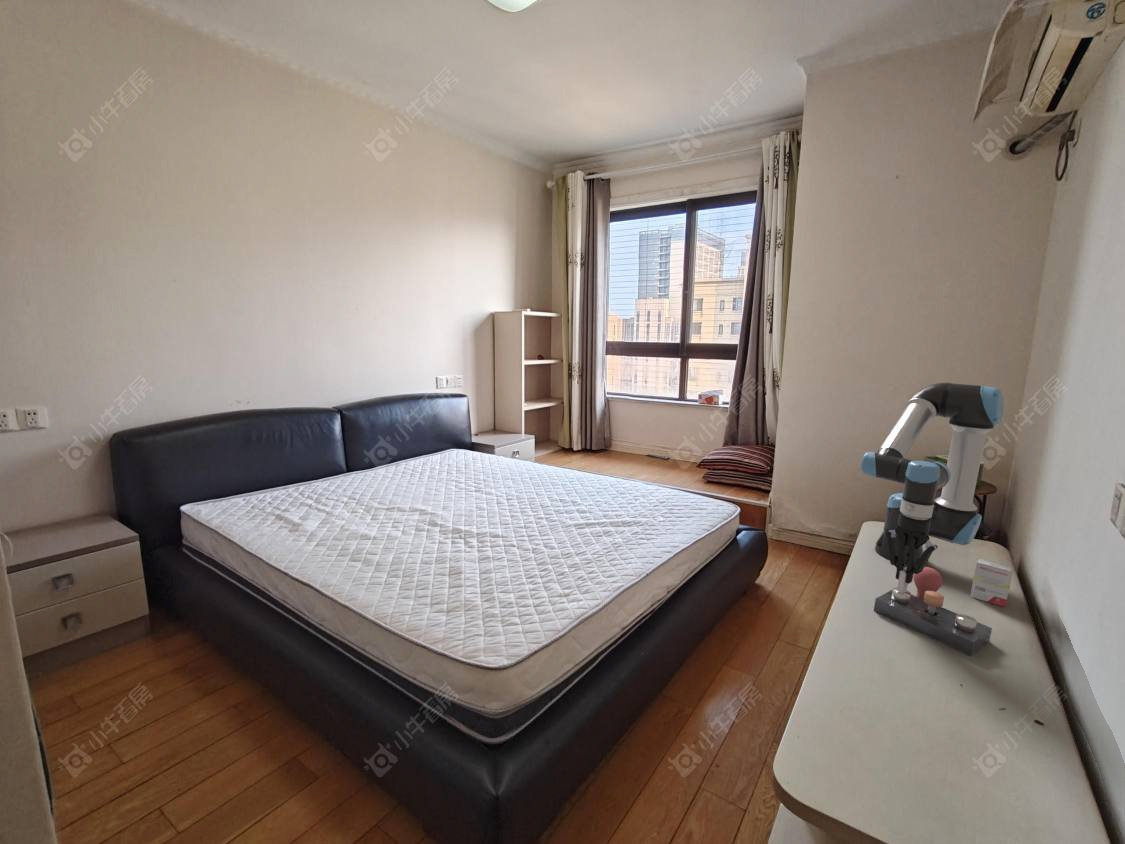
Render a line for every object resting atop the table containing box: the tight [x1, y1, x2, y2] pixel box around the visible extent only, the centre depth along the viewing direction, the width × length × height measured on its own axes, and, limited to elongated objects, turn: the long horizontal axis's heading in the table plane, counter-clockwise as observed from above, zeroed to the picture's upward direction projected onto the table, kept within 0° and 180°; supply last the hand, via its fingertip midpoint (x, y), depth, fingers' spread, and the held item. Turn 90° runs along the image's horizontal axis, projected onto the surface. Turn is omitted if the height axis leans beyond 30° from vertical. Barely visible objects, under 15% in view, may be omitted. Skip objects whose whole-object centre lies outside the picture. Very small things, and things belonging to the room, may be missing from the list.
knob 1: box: [892, 587, 912, 603], centre depth 149 cm, size 4×4×6 cm
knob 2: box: [923, 591, 945, 616], centre depth 142 cm, size 4×4×6 cm
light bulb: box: [912, 566, 943, 600], centre depth 153 cm, size 7×7×12 cm
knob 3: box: [955, 613, 978, 632], centre depth 136 cm, size 4×4×6 cm
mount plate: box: [873, 589, 993, 657], centre depth 143 cm, size 12×24×4 cm, turn 32°
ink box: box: [970, 558, 1014, 608], centre depth 157 cm, size 9×5×12 cm, turn 46°
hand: (901, 591), depth 149 cm, fingers closed
